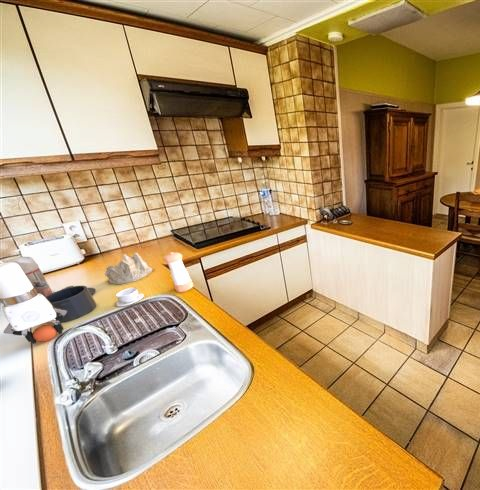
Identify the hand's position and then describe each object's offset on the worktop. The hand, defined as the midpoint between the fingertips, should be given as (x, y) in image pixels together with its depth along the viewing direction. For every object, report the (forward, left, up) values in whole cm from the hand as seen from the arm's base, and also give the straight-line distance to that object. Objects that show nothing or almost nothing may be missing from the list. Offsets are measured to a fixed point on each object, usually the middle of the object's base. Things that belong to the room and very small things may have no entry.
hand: (47, 336), depth 99 cm
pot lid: (+7, +33, -1) cm, 34 cm away
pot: (+7, +16, -1) cm, 18 cm away
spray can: (-5, +52, -1) cm, 52 cm away
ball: (0, 0, +2) cm, 2 cm away
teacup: (+25, +8, -1) cm, 26 cm away
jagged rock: (+29, +38, -1) cm, 48 cm away
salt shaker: (+45, 0, -1) cm, 45 cm away
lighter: (-2, +43, -1) cm, 43 cm away
